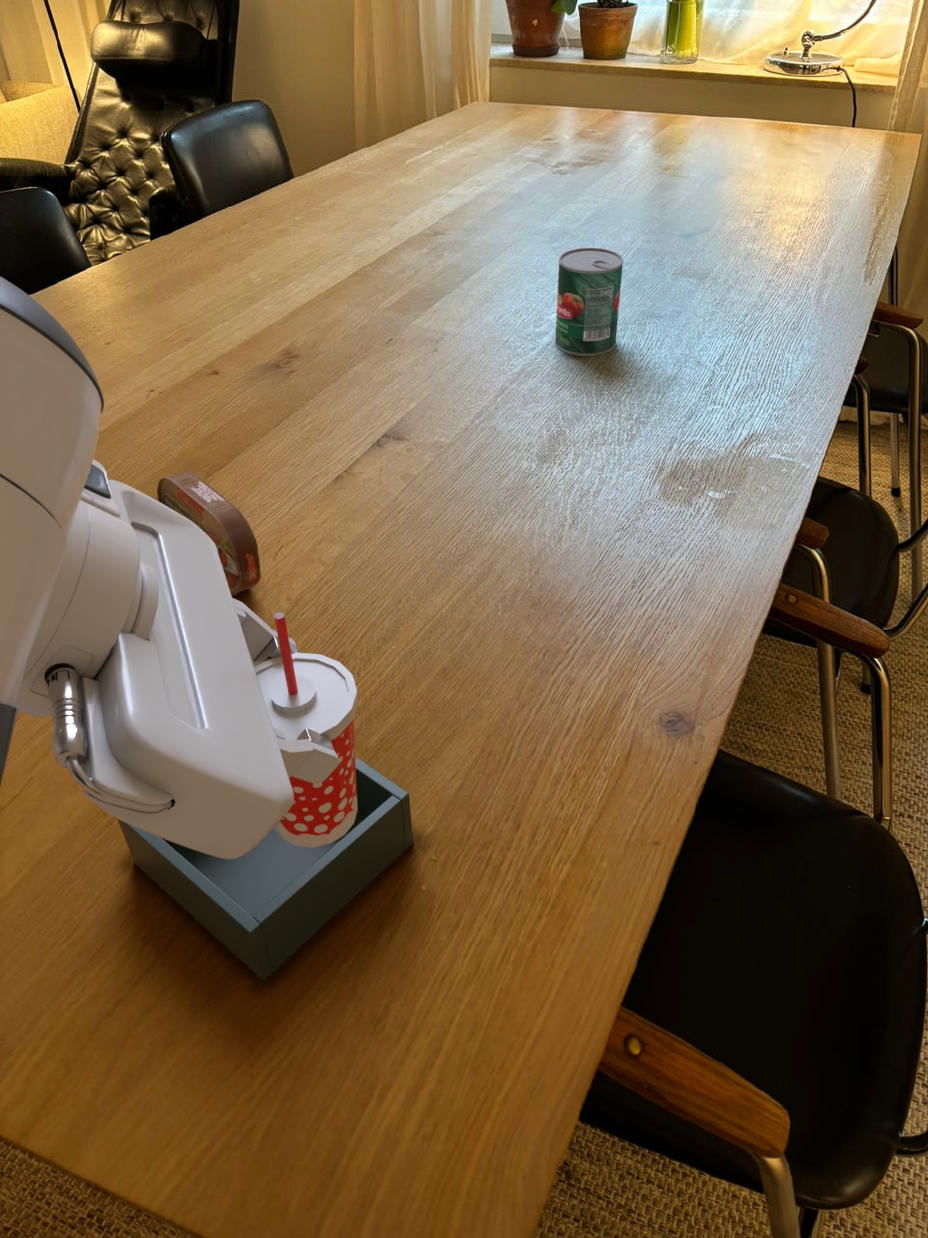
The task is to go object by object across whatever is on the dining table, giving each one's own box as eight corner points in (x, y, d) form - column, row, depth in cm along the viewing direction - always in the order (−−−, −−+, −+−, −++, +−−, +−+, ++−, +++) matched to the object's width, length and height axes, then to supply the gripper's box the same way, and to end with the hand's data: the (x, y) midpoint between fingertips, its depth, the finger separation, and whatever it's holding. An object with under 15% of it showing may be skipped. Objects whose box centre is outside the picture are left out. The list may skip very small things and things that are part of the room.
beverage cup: (263, 773, 56) (219, 577, 47) (371, 766, 56) (348, 570, 47) (253, 863, 51) (201, 665, 42) (371, 855, 52) (345, 657, 43)
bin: (263, 981, 61) (250, 933, 58) (134, 862, 68) (114, 813, 65) (413, 842, 69) (409, 793, 66) (283, 748, 76) (273, 699, 72)
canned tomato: (542, 342, 129) (545, 258, 122) (583, 324, 133) (589, 242, 126) (587, 362, 124) (592, 276, 117) (628, 343, 128) (636, 258, 121)
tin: (164, 539, 97) (145, 464, 92) (193, 526, 99) (175, 453, 93) (243, 613, 88) (226, 536, 83) (273, 598, 90) (259, 521, 84)
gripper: (110, 721, 32) (415, 824, 41) (69, 428, 47) (299, 550, 55) (8, 849, 34) (321, 921, 42) (-1, 528, 48) (233, 630, 57)
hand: (308, 709), depth 49 cm, fingers closed on beverage cup, 6 cm apart
